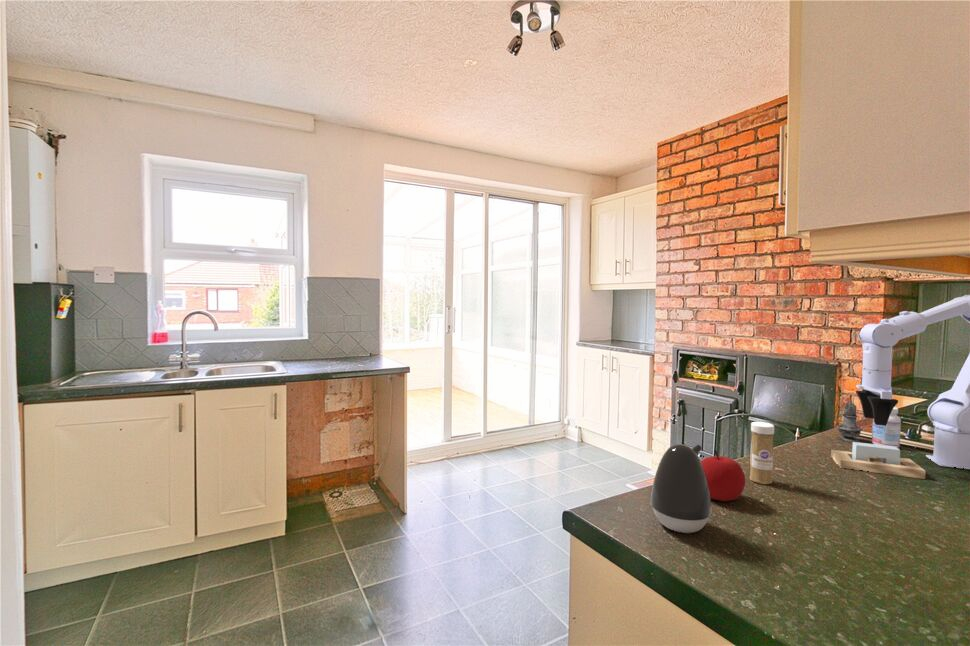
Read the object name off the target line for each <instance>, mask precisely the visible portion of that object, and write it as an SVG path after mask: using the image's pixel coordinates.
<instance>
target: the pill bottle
mask: <svg viewBox="0 0 970 646" xmlns="http://www.w3.org/2000/svg"><path fill="white" fill-rule="evenodd" d="M898 413H899V408H898V407H896V406H895V407H894V408H893V410H892V412H891V414H890V416H889V419H888V422H887V424H886V426H884V425H876V424H875V423H874V418H872V429H871V430H872V431H871V432H872V433H871V444H877V445H886V446H895V447H897V448H898V449H899V448H900V446H901V445H900V444H901V427H902V419H901V417H900V416H899V415H898Z"/></svg>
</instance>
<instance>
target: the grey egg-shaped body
mask: <svg viewBox="0 0 970 646" xmlns="http://www.w3.org/2000/svg"><path fill="white" fill-rule="evenodd" d="M701 451H702V446H701V445H700V444H696V445H695V446H694V447H693V446H692V447H690V446H689V445H686V444H682V443H676V444H673V445H671V446H670V447H668V448H667V449H666V451H665V452H664V454H663V455H662V457H661V459H660V462H659V464H658V466H657V469H656V471H655V475H654V479H653V482H652V486H651V493H650V505H651V507H652V509H653V513H654V515H655V517H656V519H657V520H658V522H659V523H660V524H661V525H663V526H664V527H665V528H667V529H669V530H670V531H673V530H674V531H673V532H676V531H677V532H676V533H680V532H682V533H681V534H692V533H696V532H698V531H700V530H702V529H703V528H704V527H705V526H706V524H707V522H708V521H709V518H710V516H711V515H712V502H711V501H712V499H711V498H710V492H709V487H708V482H707V478H706V475H705V472H704V469H703V466H702V463H701V461H702V460H700V459H701V458H700V457H699V456H698V454H699V453H700V452H701Z"/></svg>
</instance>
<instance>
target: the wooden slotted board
mask: <svg viewBox="0 0 970 646" xmlns="http://www.w3.org/2000/svg"><path fill="white" fill-rule="evenodd" d="M831 457H832V458H833V459H832V460H833V461H834V462H835V464H836V465H837V464H838V465H839V466H840V467H839V466H838V465H837V466H838V467H839V468H840V469H844V468H846V470H851V469H854V470H853V471H859V470H863V471H862V472H867V471H869V473H875V474H883V475H892V476H899V477H907V478H914V479H920V480H921V479H922V480H925V479H926V470H925V469H924V468H923V467H922V466H920V465H919V464H918V463H916V462H915V461H914V460H912V459H911V458H905V457H900V465H894V464H886V463H882V458H877V457H868V461H861V460H853V459H852V451H846V450H839V449H838V450H836V449H831V451H830V458H831Z"/></svg>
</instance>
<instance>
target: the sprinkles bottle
mask: <svg viewBox="0 0 970 646" xmlns="http://www.w3.org/2000/svg"><path fill="white" fill-rule="evenodd" d="M750 423H751V424H750V431H751V442H750V457H749V458H750V459H749V460H750V461H749V465H750V472H749V474H750V475H749V479H750V481H751V482H753V483H757V484H761V485H771V484H772V483H773V479H772V478H773V462H774V435H775V425H774V424H773V423H769V422H763V421H753V422H750Z"/></svg>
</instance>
